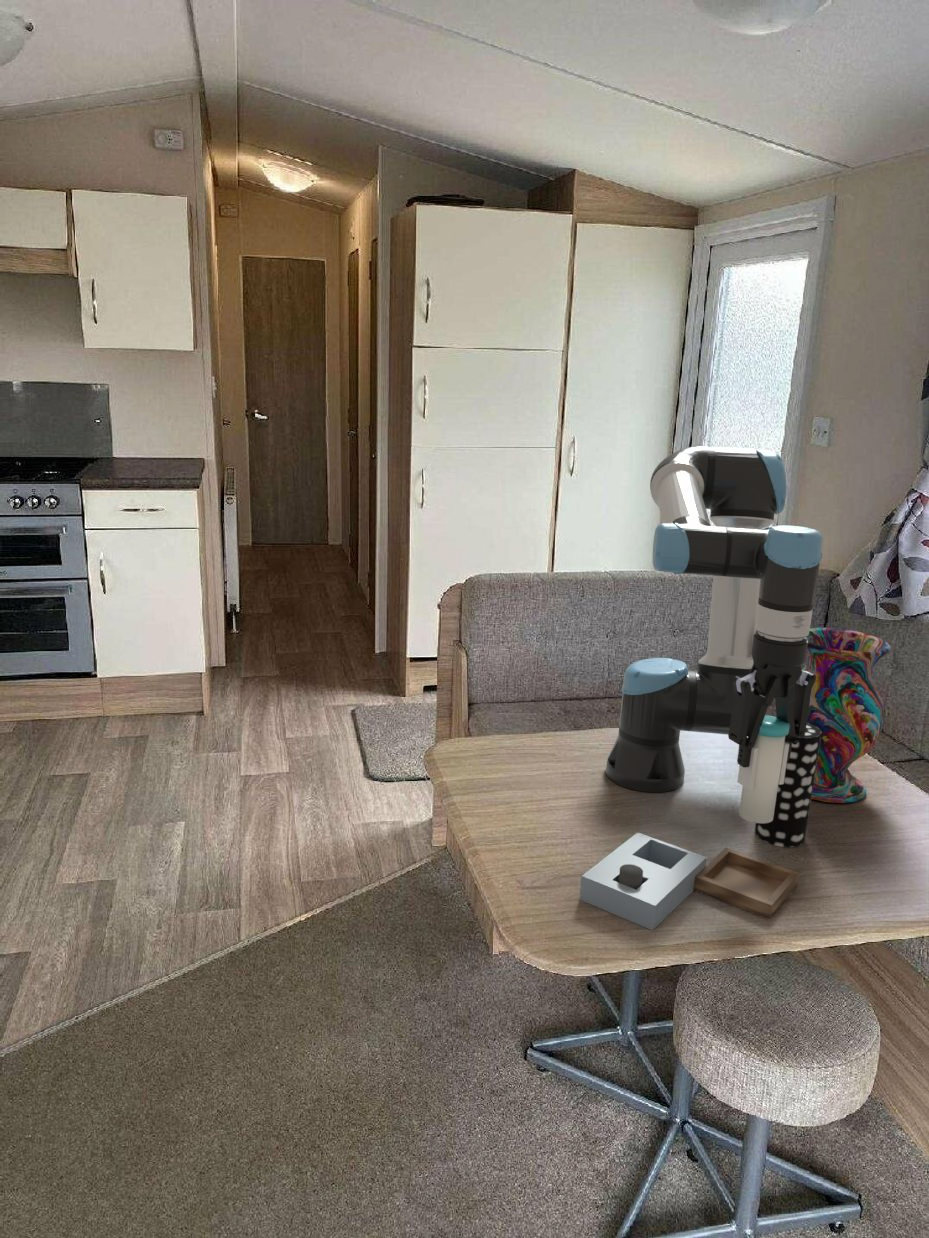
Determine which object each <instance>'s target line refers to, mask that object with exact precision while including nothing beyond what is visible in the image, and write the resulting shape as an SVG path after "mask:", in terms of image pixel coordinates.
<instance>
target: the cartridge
mask: <svg viewBox="0 0 929 1238" xmlns="http://www.w3.org/2000/svg"><path fill="white" fill-rule="evenodd" d="M789 727H790V724H789V723H786V722H785V721H783V720H781V719H779V718H777V716H773V715H768V714H765V717H764V720H763V723H762V725H761V727H760V731H759V734H758V737H757V740H756V743H755V745H754V746H756V747H758V748H759V751H758V758H757V765H756V772H755V780H754V787H753V789H750V790H749V789H747V788H746V787H744V786H743V785H742V787H741V794H740V795H741V796H740V804H739V808H738V809H739V810H738V815H739V816H740V817H741V818H742V819H744V820H745V821H748V822H750V823H755V824H756V823H769V822H771V821H773V817H774V810H775V803H776V796H777V789H778V782H779V776H780V769H781V762H782V755H783V748H784V741H785V736H786V735H788V733H789Z"/></svg>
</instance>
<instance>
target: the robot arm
mask: <svg viewBox="0 0 929 1238" xmlns="http://www.w3.org/2000/svg"><path fill="white" fill-rule="evenodd" d="M785 469H786V468H785V465H784V461H783V459H782V458H781V455H780V454H779V453H777V452H776V451H773V450H766V449H760V448H759V449H758V448H756V447H755V448H748V447H747V448H742V447H722V446H720V447H719V446H718V447H717V446H715V447H714V446H704V445H698V446H689V447H686V448H682V449H678V450H677V451H675V452H673V453H671V454H669V455H668V456H666V457H664V459H663V460H662V461H660V462H659V463H658V464H657V466H656V467H655V469H654V470H653V473H652V474H651V476H650V483H649V487H650V488H649V489H650V494H651V497H652V500H653V502H654V504H655V505H657V507H658V509H659V514H660V520H661V523H659V524H658V525H657V526H656V528H655V530H654V535H653V542H652V543H653V544H652V566H653V568H654V569H655V570H657V571H658V572H664V573H672V574H674V575H695V576H697V575H699V576H712V577H713V579H712V589H711V604H710V614H709V625H708V639H707V647H706V649H707V651H706V653H705V655H703V656H702V657H701V658H699V660H698V662H697V669H696V670H690V669H689V668H688V666H687V663H686V662H684V661H683V660H679V659H674V658H670V657H669V658H668V657H650V658H644V659H640V660H637V661H635V662H633V663H631V664H630V665H629V666H627V668H626V670H625V673H624V677H623V684H622V686H621V693H622V698H621V706H620V714H619V723H618V724H619V725H618V733H617V734H618V735H617V737H616V740H615V741H614V744H613V746H612V748H611V751H610V753H609V755H608V757H607V760H606V764H605V765H606V766H605V774H606V776H607V777H608V778H609V780H611V781H612V782H613V783H615V784H617V785H619V786H621V787H623V788H627V789H629V790H630V789H631V790H635V791H638V792H639V791H640V792H647V793H664V792H665V793H666V792H670V791H674V790H676V789H678V788H680V787H681V786H682V785H683V784H684V782H685V774H686V773H685V772H686V770H685V765H684V761H683V757H682V752H681V747H680V735H681V731H682V732H683V731H685V732H693V733H704V734H705V733H707V734H714V735H715V734H716V735H717V734H718V735H727V737H728V739H729V740H730V741H731V742H734V743H735V744H737V745H738V751H737V759H736V761H737V762H736V763H737V765H739V767H738V775H737V783H738V784H740V785H741V786H742V787H743V786H744V787H746V788H747V789H749V790H750V789H753V787H754V780H755V772H756V765H757V758H758V751H759V748H758V747H756V746H754V745H755V743H756V740H757V737H758V734H759V731H760V727H761V725H762V723H763V720H764V717H765V715H767V710H768V708H769V706H771V705H772V704H773V701H774V700H775V703H774V704H775V714H776V717H777V718H779V719H781V720H783V721H785V722H786V723H789V724H790V727H789V733H788V735H786V736H785V741H784V748H783V755H782V762H781V769H780V776H779V782H778V784H779V785H781V784H784V777H785V770H786V764H787V761H789V759H790V754H791V747H792V744H794V745H795V744H797V743H798V742H799V739H797V737H803V736H804V735H805V732H806V725H807V718H808V711H809V703H810V696H811V690H812V687H813V685H814V683H815V680H816V675H814V674H812V673H810V672H807V671H805V670H803V668H802V665H804V664H805V663H806V661H807V646H808V641H807V639H806V638H805V637H806V636H808V635H809V631H810V628H811V624H812V623H811V622H812V618H813V617H812V615H813V612H814V611H813V609H814V603H815V597H816V590H817V583H818V577H819V571H820V565H821V564H820V563H821V562H822V559H823V553H822V551H823V535H822V533H821V532H820V531H819V530H817V529H814V528H810V527H808V526H807V527H806V526H799V525H798V526H797V525H783V524H782V525H774V526H771V525H772V524H773V523H774V522H775V521H774V520H775V515H778V514H781V513H782V512H783V511H784V509H785V506H786V498H787V475H786V470H785ZM707 510H710V516H709V515H708V511H707ZM711 522H712V524H713V525H712V524H711ZM797 725H798V727H797Z"/></svg>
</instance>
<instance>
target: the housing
mask: <svg viewBox="0 0 929 1238" xmlns="http://www.w3.org/2000/svg"><path fill="white" fill-rule="evenodd" d="M707 858H708V857H707V856H704V855H701V854H699V853H695V852H694V851H691V850H689V849H684V848H682V847H680V846H677V845H674V844H671V843H668V842H665V841H663V840H660V839H658V838H655V837H652V836H649V835H646V834H643V833H640V832H638V831H637V832H636V833H635V834H633V836H631V837H630V838H628V839H627V840H626V841H625V842H624V843H622V844H621V845H619V846H618V847H617V848H615V850H613V851H612V852H610V853H609V854H608V855H607V856H605V857H604V858H603V859H601V860H600V861H599V862H598V863H597V864H595V865H594V866H593V867H591V868H590V869H589V870H587V871H586V872H584V873H583V874H582V875H581V879H580V880H581V881H580V893H579V900H580V901H582V902H584V903H588V904H589V905H591V906H593V907H595V908H599V909H601V910H604V911H606V912H608V913H610V914H613V915H615V916H617V917H620V918H622V919H624V920H627V921H628V922H629V921H630V922H632V923H633V924H636V925H638V926H641V927H643V928H645V929H648V930H650V931H654V929H656V928H657V926H658V925H659V924H661V923H662V922H663V920H665V919H666V918H667V917H668V916H669V915H670V913H672V912H673V911H674V910H675V909H676V908H677V907H678V906H679V905H680V904H681V903H682V902H683V901H684V900H685V899H686V898H687V897H688V896H689V895H690V894H692V892H694V890H693V889H694V881H695V876H696V875H697V874H698V873H699V872H700V871H701V870H702V869H703V868H705V867H706V866H707ZM626 864H631V865H636V866H638V867H640V868H641V869H642V870H643V877H642V885H641V886H640V887H639V888H638V889H637V890H636V889H633V888H631V887H628V886H626V885H623V884H621V883H618V882H619V872H620V867H621V866H623V865H626Z"/></svg>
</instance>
